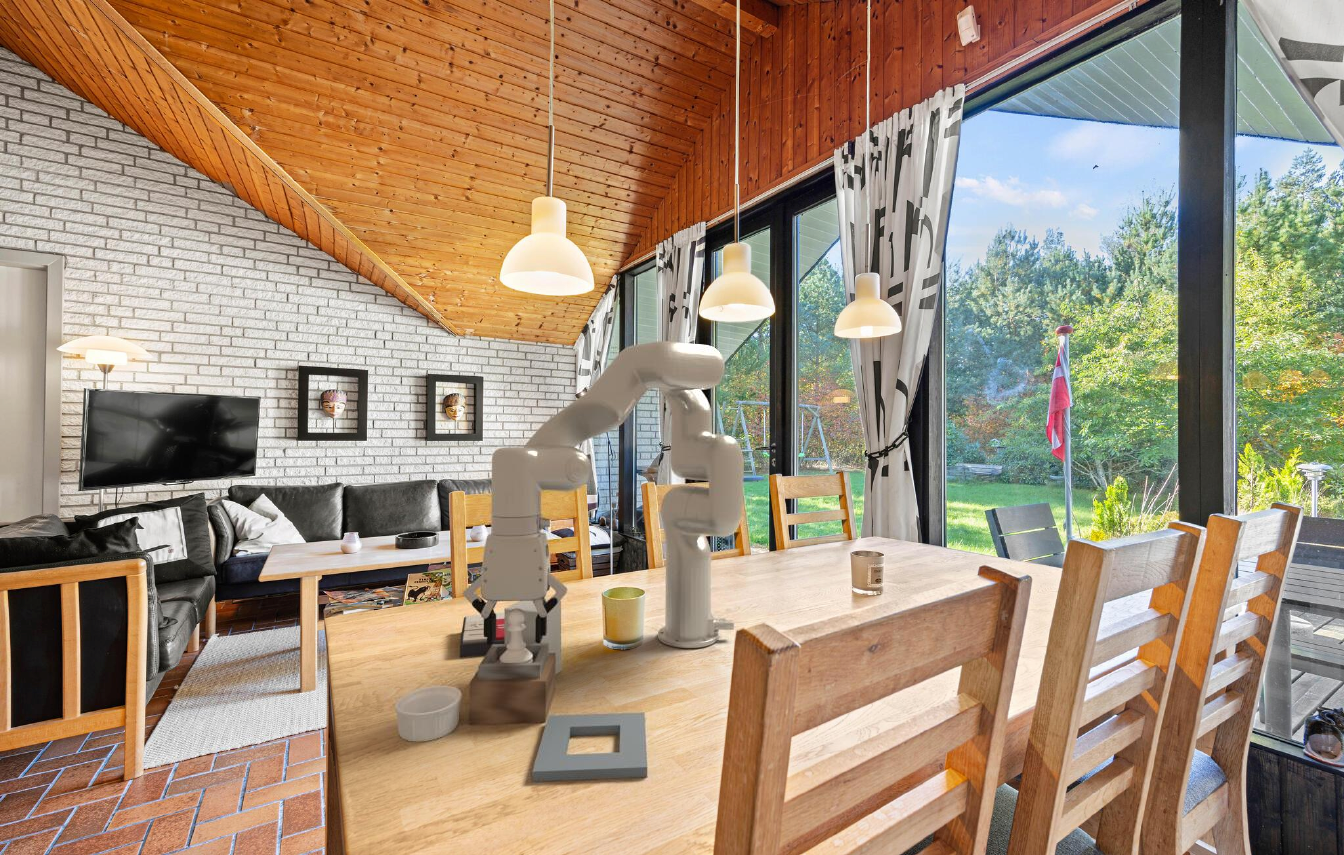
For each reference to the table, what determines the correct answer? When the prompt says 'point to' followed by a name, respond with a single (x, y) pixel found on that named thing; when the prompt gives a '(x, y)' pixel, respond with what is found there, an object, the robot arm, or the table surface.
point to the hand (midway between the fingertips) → (515, 639)
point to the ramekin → (428, 713)
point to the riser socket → (512, 687)
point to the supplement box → (529, 633)
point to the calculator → (479, 635)
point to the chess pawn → (516, 639)
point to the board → (596, 765)
